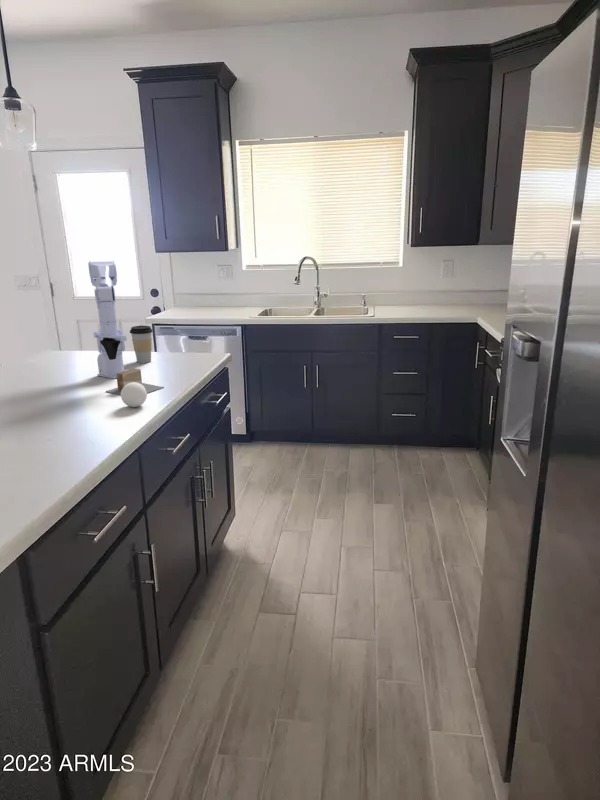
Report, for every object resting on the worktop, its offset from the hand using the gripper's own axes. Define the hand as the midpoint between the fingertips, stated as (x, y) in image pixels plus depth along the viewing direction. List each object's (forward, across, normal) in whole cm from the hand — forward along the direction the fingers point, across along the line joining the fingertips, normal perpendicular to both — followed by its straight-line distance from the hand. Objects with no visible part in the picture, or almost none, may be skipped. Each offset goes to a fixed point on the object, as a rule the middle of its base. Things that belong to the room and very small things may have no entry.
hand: (112, 359), depth 187 cm
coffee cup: (+10, -19, +32) cm, 39 cm away
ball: (+10, +24, -13) cm, 29 cm away
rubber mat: (+10, +10, 0) cm, 14 cm away
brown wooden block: (+10, +7, 0) cm, 12 cm away
